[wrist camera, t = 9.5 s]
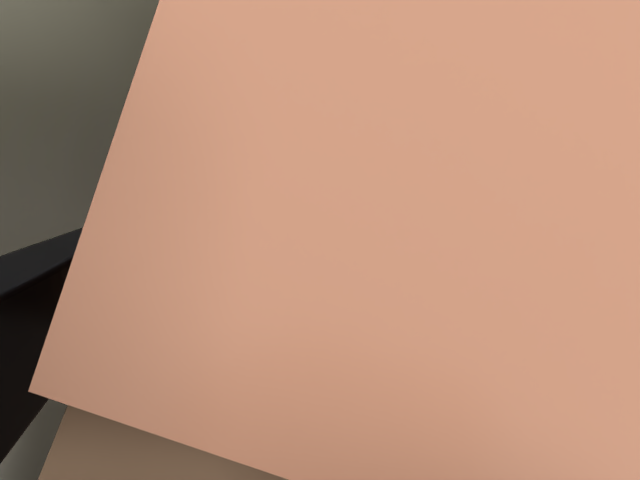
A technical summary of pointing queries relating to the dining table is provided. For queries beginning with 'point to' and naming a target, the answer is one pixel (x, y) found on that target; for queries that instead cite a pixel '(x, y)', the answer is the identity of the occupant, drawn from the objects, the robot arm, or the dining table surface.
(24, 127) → the dining table surface
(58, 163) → the dining table surface
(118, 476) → the walnut board
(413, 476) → the peach colored cube
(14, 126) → the dining table surface
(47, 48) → the dining table surface
